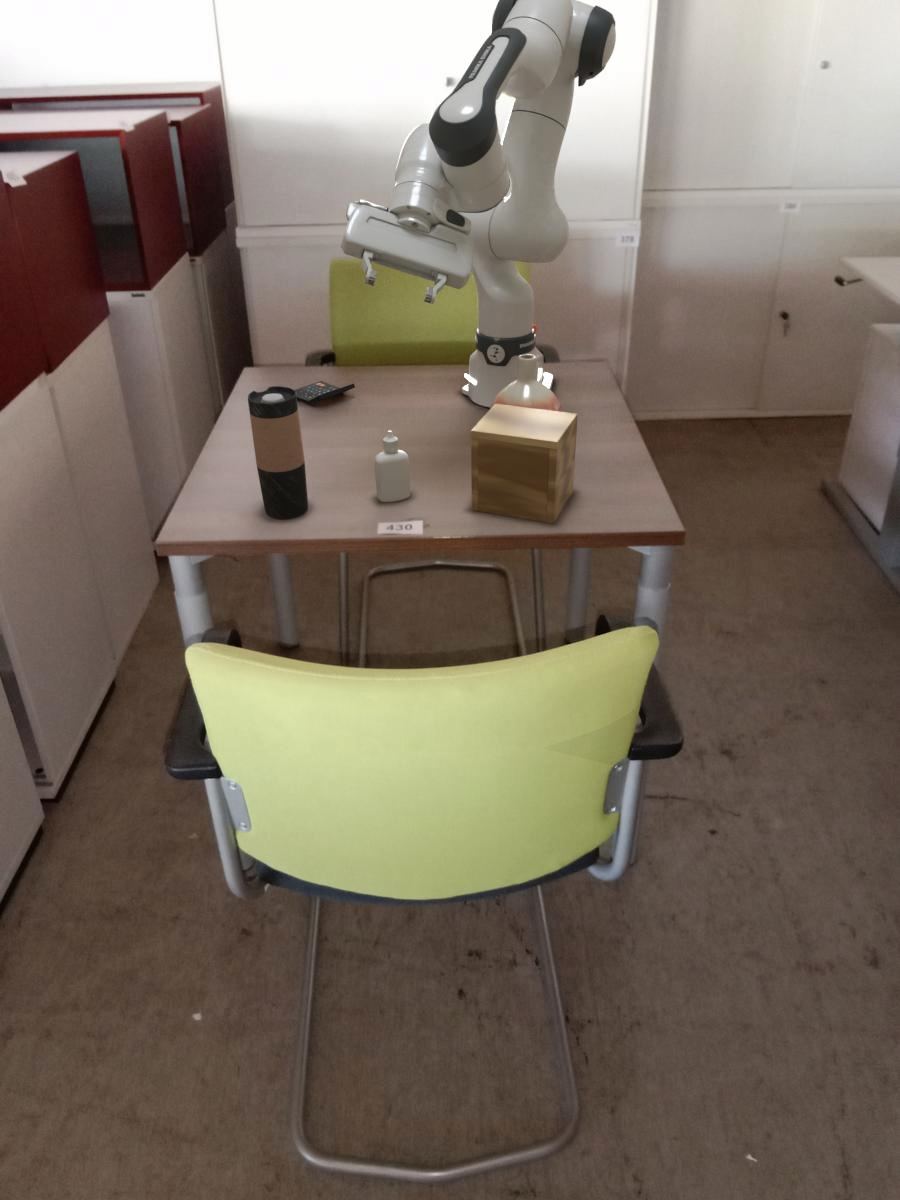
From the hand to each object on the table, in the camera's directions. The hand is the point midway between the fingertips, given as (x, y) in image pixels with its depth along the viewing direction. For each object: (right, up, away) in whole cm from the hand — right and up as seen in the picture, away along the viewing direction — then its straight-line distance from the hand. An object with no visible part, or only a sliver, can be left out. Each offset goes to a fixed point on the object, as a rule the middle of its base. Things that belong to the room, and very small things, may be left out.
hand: (399, 291), depth 141 cm
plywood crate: (+20, -30, +14) cm, 39 cm away
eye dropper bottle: (-2, -30, +16) cm, 34 cm away
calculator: (-20, -4, +56) cm, 60 cm away
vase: (+22, -19, +32) cm, 43 cm away
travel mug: (-19, -32, +13) cm, 40 cm away
